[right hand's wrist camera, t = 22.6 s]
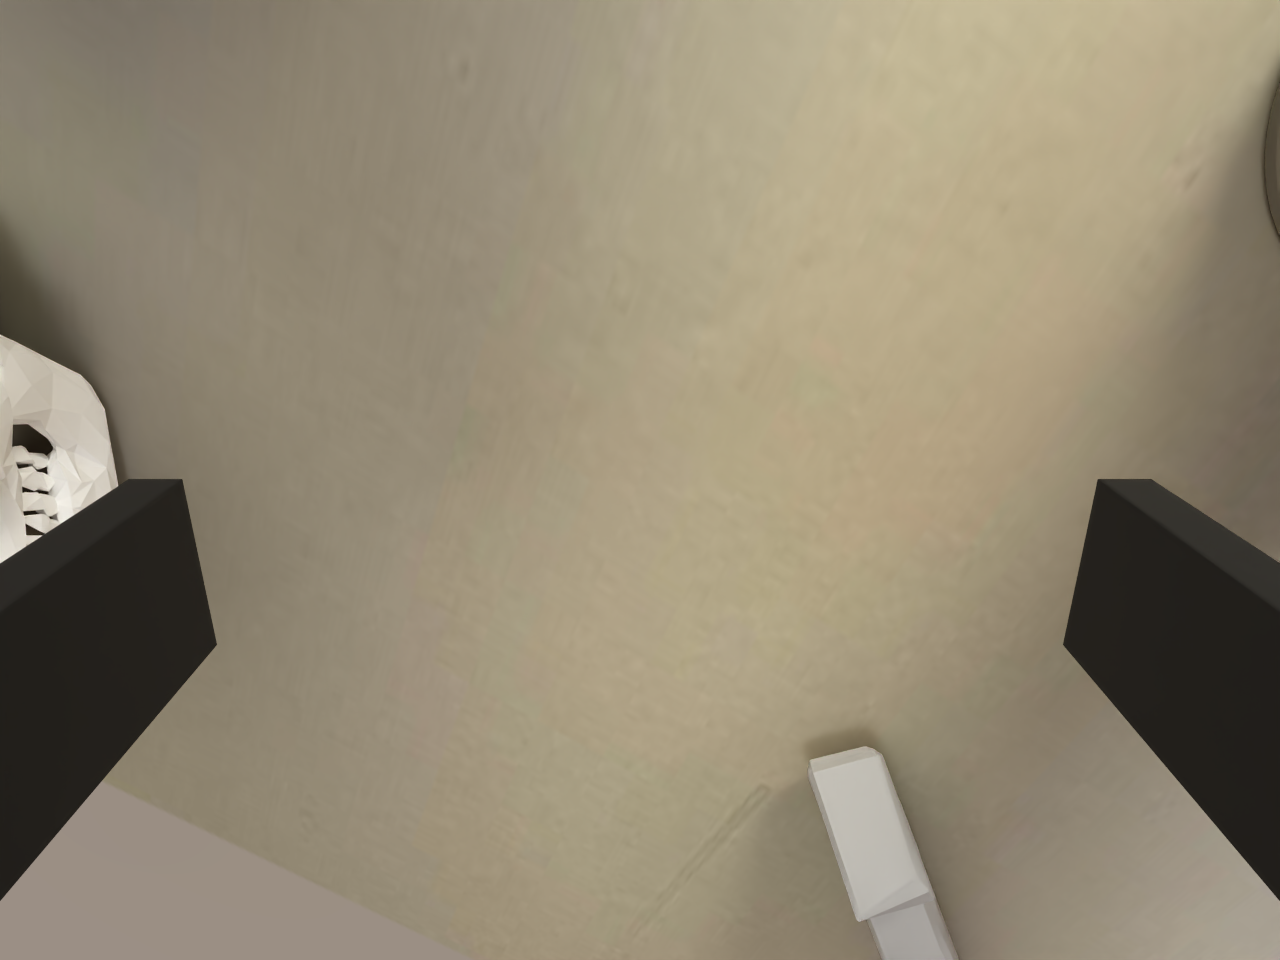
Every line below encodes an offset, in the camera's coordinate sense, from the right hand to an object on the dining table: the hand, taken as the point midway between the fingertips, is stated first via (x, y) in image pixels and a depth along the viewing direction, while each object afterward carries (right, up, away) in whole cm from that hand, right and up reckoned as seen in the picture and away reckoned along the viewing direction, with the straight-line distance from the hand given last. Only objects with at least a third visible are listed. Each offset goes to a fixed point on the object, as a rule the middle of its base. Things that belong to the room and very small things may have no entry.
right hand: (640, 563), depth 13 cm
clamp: (+13, -20, +33) cm, 40 cm away
